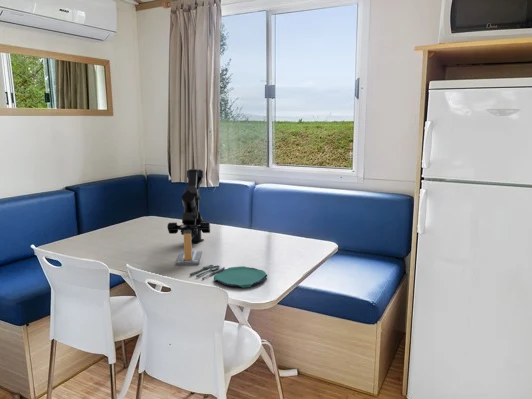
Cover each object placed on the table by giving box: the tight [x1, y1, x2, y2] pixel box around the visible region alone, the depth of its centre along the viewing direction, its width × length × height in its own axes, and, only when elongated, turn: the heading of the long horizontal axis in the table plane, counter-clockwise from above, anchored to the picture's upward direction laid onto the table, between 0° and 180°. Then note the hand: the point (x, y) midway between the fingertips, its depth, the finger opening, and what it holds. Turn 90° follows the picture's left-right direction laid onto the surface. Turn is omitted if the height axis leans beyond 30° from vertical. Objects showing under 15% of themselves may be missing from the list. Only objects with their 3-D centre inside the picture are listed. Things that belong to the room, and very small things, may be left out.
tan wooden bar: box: [183, 230, 193, 260], centre depth 181 cm, size 2×3×13 cm
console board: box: [175, 249, 203, 266], centre depth 186 cm, size 16×10×2 cm, turn 4°
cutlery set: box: [189, 264, 268, 289], centre depth 165 cm, size 20×30×2 cm, turn 59°
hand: (188, 244), depth 182 cm, fingers closed, pressing on tan wooden bar
